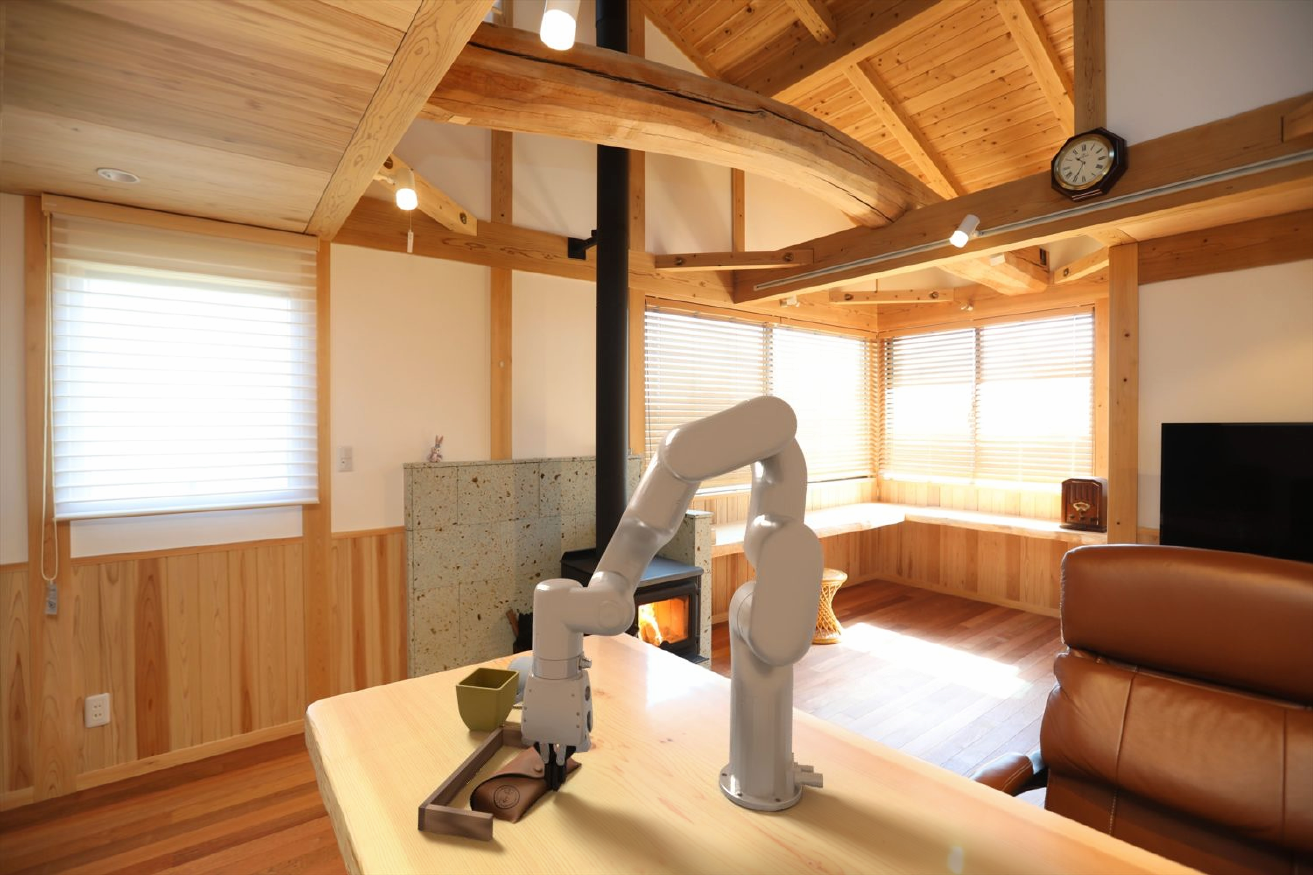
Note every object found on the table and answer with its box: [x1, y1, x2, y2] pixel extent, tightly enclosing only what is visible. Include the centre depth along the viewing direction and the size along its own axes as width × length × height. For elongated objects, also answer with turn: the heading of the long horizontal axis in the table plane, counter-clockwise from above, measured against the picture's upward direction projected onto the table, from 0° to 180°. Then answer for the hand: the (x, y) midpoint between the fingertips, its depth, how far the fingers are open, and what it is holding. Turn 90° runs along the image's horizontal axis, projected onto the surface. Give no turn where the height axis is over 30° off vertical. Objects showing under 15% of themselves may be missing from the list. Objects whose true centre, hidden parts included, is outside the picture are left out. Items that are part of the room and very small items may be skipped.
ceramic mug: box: [506, 656, 532, 706], centre depth 123 cm, size 11×8×8 cm
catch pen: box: [417, 724, 558, 842], centre depth 91 cm, size 10×24×3 cm, turn 168°
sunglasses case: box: [469, 745, 582, 825], centre depth 92 cm, size 18×7×7 cm, turn 156°
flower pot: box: [455, 666, 520, 733], centre depth 110 cm, size 9×9×9 cm
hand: (555, 785), depth 89 cm, fingers closed
